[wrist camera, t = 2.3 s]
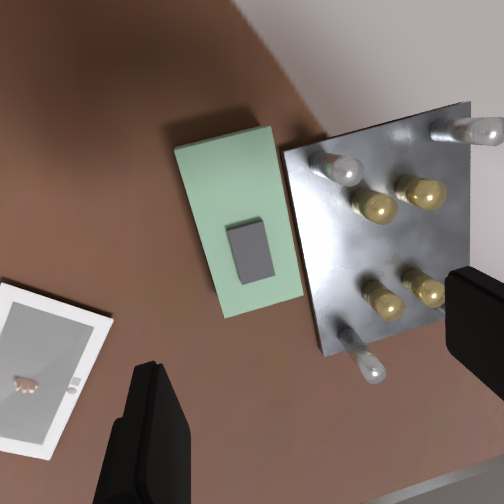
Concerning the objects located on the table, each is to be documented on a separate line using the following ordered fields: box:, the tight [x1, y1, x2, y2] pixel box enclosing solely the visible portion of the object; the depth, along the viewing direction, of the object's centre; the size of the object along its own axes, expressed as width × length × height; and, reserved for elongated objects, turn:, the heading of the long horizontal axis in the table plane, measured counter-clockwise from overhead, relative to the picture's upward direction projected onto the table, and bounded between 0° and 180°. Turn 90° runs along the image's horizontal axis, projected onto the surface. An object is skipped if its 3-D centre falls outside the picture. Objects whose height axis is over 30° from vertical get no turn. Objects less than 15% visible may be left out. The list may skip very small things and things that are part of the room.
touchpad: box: [0, 282, 114, 460], centre depth 27 cm, size 8×15×2 cm, turn 152°
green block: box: [174, 126, 303, 318], centre depth 24 cm, size 12×6×4 cm, turn 13°
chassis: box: [280, 101, 504, 384], centre depth 26 cm, size 18×14×6 cm
